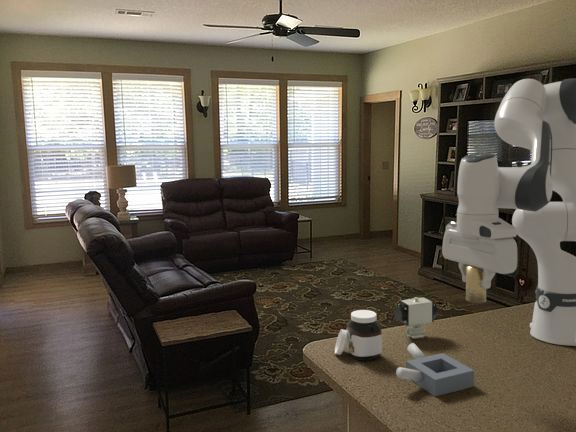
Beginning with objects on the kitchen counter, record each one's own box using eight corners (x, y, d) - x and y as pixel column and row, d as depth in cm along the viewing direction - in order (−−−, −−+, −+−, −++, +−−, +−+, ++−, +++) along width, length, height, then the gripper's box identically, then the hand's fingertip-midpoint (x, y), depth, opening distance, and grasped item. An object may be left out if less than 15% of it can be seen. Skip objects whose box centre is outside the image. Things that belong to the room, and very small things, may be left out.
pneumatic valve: (438, 336, 148) (438, 297, 146) (402, 342, 144) (402, 302, 143) (427, 330, 153) (427, 292, 151) (392, 335, 150) (392, 296, 148)
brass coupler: (476, 296, 119) (477, 263, 118) (490, 301, 115) (491, 267, 114) (461, 299, 118) (462, 265, 117) (475, 303, 114) (475, 269, 113)
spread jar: (386, 359, 134) (386, 317, 132) (349, 367, 129) (348, 324, 128) (363, 343, 145) (362, 304, 143) (327, 351, 140) (327, 310, 139)
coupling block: (427, 358, 133) (428, 338, 132) (473, 386, 117) (474, 363, 116) (371, 371, 127) (371, 350, 126) (412, 402, 111) (412, 378, 110)
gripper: (436, 221, 123) (435, 276, 124) (500, 232, 104) (498, 297, 106) (456, 219, 125) (456, 273, 127) (523, 230, 106) (521, 293, 108)
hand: (476, 284), depth 116 cm, fingers closed on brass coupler, 4 cm apart
